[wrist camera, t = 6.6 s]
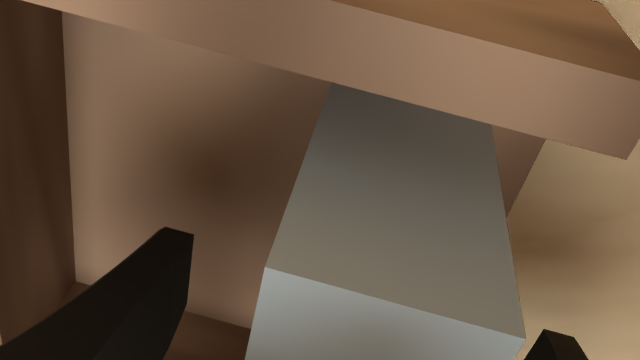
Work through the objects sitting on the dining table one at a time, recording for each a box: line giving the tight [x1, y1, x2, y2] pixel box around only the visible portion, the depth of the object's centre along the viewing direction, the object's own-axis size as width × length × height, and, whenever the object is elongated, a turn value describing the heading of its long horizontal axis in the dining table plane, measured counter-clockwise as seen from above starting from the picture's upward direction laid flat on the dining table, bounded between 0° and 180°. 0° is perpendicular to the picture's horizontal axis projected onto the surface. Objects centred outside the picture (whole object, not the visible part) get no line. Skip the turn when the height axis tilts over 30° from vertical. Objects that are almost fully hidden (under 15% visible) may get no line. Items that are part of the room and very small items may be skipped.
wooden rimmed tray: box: [0, 0, 640, 360], centre depth 13 cm, size 12×12×5 cm
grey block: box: [245, 82, 526, 360], centre depth 12 cm, size 4×7×6 cm, turn 168°
